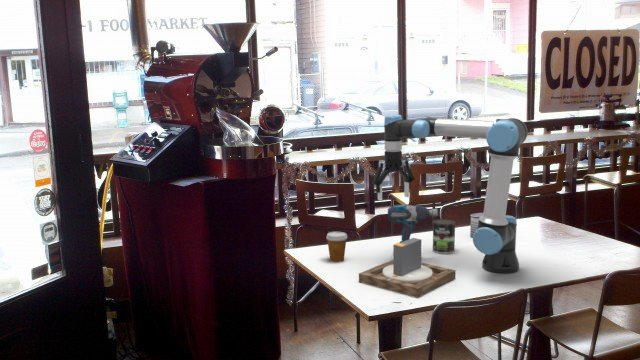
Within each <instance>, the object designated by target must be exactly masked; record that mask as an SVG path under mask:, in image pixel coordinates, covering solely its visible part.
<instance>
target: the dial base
mask: <svg viewBox="0 0 640 360" xmlns="http://www.w3.org/2000/svg"><path fill="white" fill-rule="evenodd" d="M389 265H393V259H392V260H389V261H386V262H384V263H381V264H378V265H376V266H374V267H371V268H369V269H366V270H365V271H362V272H360V273H358V282H359V283H363V284H366V285H369V286H374V287H378V288H381V289H384V290H388V291H391V290H392V292H395V293H400V294H404V295H408V296H410V297H414V298H420V297H422V296H424V295H426V294H427V293H429V292H431V291H433V290H436V289H437V288H440V287H441V286H443V285H446V284H448V283H449V282H451V281H453V280H455V279H456V273H457V272H456V269H452V268H449V267H448V268H447V267H443V266H438V265H434V264H429V263H425V262H421V265H423V266H426V267H428V268H430V269H431V270H432V277H431V278H429V279H427V280H424V281H422V282H420V283H418V284H410V283H406V282H402V281H398V280H394V279H391V278H386V277H383V269H384V268H385V267H386V266H389Z"/></svg>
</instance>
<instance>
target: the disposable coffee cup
mask: <svg viewBox="0 0 640 360" xmlns="http://www.w3.org/2000/svg"><path fill="white" fill-rule="evenodd" d="M347 239H348V234H347V233H346V232H342V231H330V232H328V233H327V235H326V240H327V247H328V254H329V260H330V262H333V263H335V262H336V263H340V262H343V261H345V256H346V255H345V253H346V246H347Z"/></svg>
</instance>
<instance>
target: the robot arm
mask: <svg viewBox="0 0 640 360" xmlns="http://www.w3.org/2000/svg"><path fill="white" fill-rule="evenodd" d="M383 128H384V131H383V132H384V150H385V151H384V162H378V163H377V168H376V172H375V174H374V176H373V178H372V181H371V184H373V185H374V186H375V192H376V193H377V200H378V201H383V184H382V183H383V182H384V180H385V179H386V178H387V176H388V175H389V174H390V173H394V172H398V173H399V174H400V176H401V177H402V178H403V180H404V184H403V185H404V186H403V187H404V191H403V192H404V193H403V194H404V197H405V198H410V190H411V183H413V181H415V177H414V174H413V173H412V170H411V168H410V166H409V161H408V160H406V159H404V160H402V159H403V151H402V150H403V142H402V141H403V138H412V139H425V138H427V137H428V136H441V137H451V138H453V137H454V138H468V139H481V140H482V139H483V140H486V143H487V145H488V147H487V154H488V155H489V156H490V161H489V170H488V176H487V183H486V184H487V185H486V186H487V187H486V193H485V198H484V206H483V207H484V208H483V212H482V213H483V215H482V216H481V217H479V221H478V228H477V230H476V231H475V233H474V235H473V238H472V243H473V246H474V247H475V248H476V249H477V250H478V252H479V253H481V254H483V255H484V256H483V258H482V263H481V265H482V266H481V267H482V269H483V270H486V271H488V272H491V273H496V274H511V273H516V272H518V271H519V269H520V262H519V259H518V255H517V252H516V244H517V242H516V241H517V226H518V223H517V218H516V217H515V216H513V215H508V214H506V213H507V209H508V208H507V206H508V201H509V200H508V199H509V194H510V186H511V180H512V172H513V165H514V161H515V159H516V158H517V157H519V153H520V148H521V147H520V146H521V145H522V144H523V143H524V142H525V141H526V139H527V137H528V128H527V125H526V123H524V122H523V120H521V119H518V118H514V117H510V118H496V119H495V120H494V121H493V120H481V119H480V120H478V119H477V120H476V119H461V118H460V119H459V118H458V119H457V118H456V119H455V118H439V117H437V118H435V117H431V116H427V117H424V118H418V119H403V116H402V114H387V115H385V116H384V123H383ZM402 166H403V168H404V169H403V168H402Z"/></svg>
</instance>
